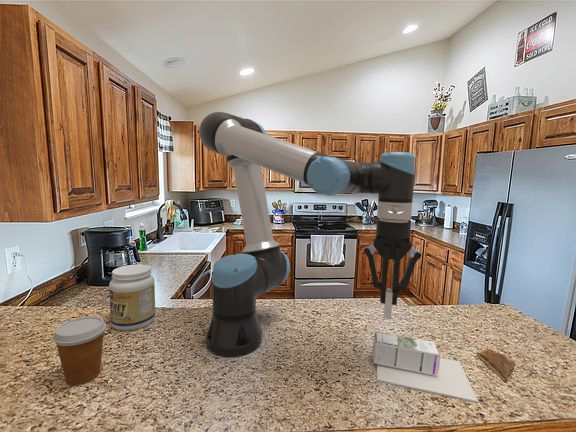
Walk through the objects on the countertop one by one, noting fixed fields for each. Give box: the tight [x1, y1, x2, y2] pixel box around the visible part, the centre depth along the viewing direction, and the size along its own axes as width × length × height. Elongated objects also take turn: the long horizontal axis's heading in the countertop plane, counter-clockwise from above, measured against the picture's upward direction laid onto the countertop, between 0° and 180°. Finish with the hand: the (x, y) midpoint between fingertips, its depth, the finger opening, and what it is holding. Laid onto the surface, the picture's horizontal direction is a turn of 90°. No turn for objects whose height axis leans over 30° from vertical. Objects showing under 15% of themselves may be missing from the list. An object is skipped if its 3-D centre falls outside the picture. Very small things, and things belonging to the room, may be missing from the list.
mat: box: [376, 357, 479, 404], centre depth 69 cm, size 20×14×1 cm
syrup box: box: [372, 331, 441, 376], centre depth 70 cm, size 6×6×14 cm
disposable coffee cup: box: [52, 315, 107, 386], centre depth 63 cm, size 10×10×12 cm
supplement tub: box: [108, 264, 156, 332], centre depth 87 cm, size 12×12×17 cm
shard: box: [476, 348, 516, 382], centre depth 72 cm, size 11×8×2 cm
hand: (387, 316), depth 69 cm, fingers closed
